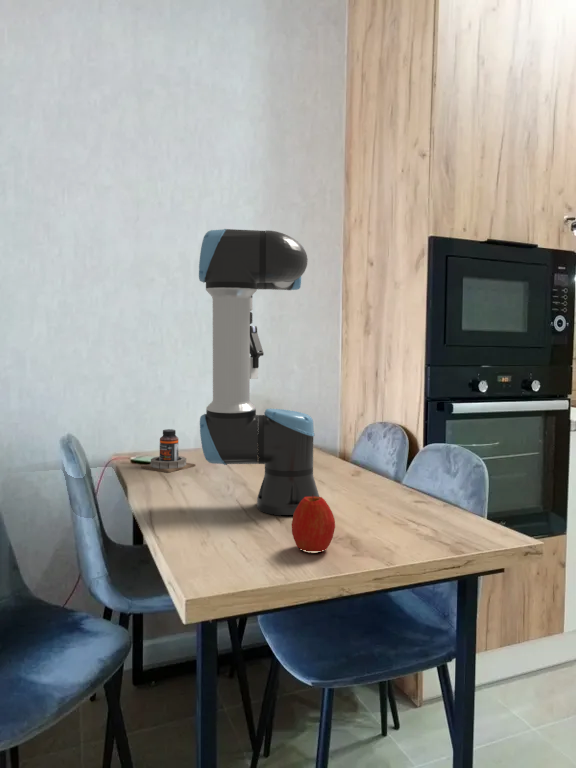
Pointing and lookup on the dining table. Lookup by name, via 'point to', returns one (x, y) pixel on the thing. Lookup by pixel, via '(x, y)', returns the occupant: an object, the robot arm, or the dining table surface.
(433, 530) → the dining table surface
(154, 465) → the socket
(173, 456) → the supplement bottle
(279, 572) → the dining table surface
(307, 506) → the apple
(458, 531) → the dining table surface
